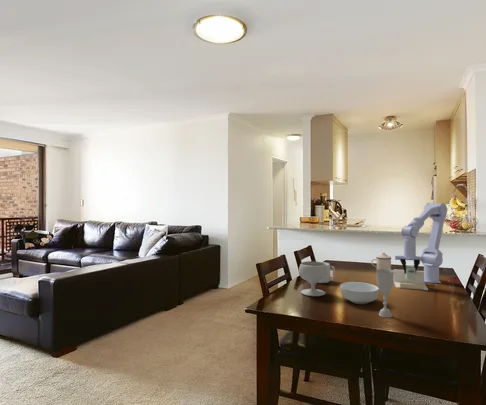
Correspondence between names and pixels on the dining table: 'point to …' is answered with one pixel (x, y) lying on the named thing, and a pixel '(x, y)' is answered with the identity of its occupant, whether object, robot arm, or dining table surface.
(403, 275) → the cream l-shaped stand
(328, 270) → the mug
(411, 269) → the cabinet block
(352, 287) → the cereal bowl
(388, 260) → the teacup with lid
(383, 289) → the chalice
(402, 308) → the dining table surface
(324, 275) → the chalice
